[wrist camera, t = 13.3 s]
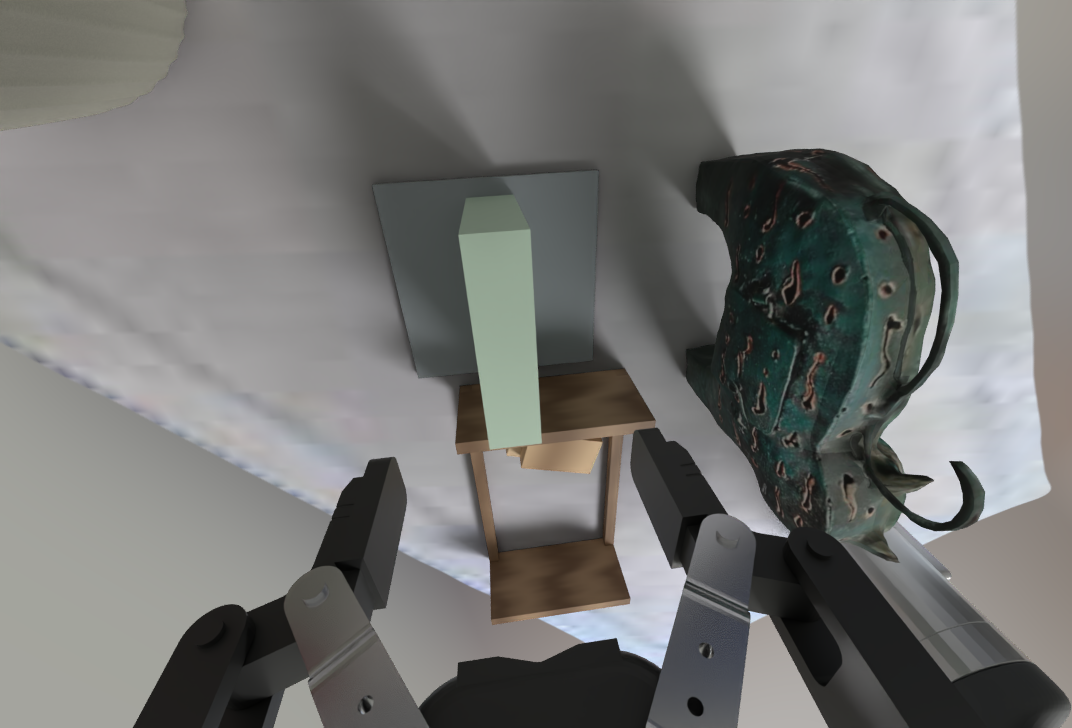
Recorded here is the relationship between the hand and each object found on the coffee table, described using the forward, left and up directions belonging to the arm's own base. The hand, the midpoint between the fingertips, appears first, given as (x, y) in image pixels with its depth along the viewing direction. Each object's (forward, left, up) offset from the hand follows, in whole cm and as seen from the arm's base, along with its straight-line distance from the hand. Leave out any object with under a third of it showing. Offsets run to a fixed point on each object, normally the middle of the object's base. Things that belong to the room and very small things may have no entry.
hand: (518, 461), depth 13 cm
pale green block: (0, 0, -17) cm, 17 cm away
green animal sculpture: (-16, +2, -18) cm, 24 cm away
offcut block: (-3, +13, -18) cm, 23 cm away
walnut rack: (-3, +20, -18) cm, 27 cm away
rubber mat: (0, 0, -18) cm, 18 cm away
